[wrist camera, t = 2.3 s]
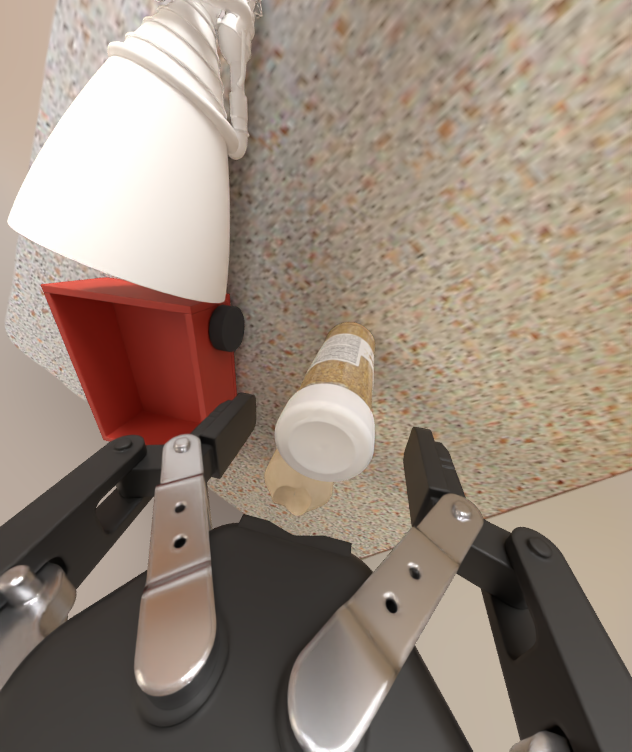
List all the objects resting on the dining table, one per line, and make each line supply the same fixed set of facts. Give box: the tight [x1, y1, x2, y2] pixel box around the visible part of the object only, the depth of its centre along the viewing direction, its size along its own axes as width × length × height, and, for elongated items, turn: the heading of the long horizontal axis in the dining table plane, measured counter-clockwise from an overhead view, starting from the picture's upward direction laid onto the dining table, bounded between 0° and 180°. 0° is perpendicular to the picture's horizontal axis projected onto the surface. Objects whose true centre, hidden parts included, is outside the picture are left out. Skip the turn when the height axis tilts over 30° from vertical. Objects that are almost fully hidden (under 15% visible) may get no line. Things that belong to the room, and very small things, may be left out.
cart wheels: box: [209, 305, 244, 352], centre depth 26 cm, size 15×16×4 cm
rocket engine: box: [8, 0, 263, 303], centre depth 15 cm, size 12×12×18 cm
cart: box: [41, 277, 237, 445], centre depth 25 cm, size 16×13×6 cm
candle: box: [264, 448, 334, 516], centre depth 23 cm, size 6×6×10 cm
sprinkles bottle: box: [275, 322, 375, 482], centre depth 17 cm, size 5×5×13 cm
